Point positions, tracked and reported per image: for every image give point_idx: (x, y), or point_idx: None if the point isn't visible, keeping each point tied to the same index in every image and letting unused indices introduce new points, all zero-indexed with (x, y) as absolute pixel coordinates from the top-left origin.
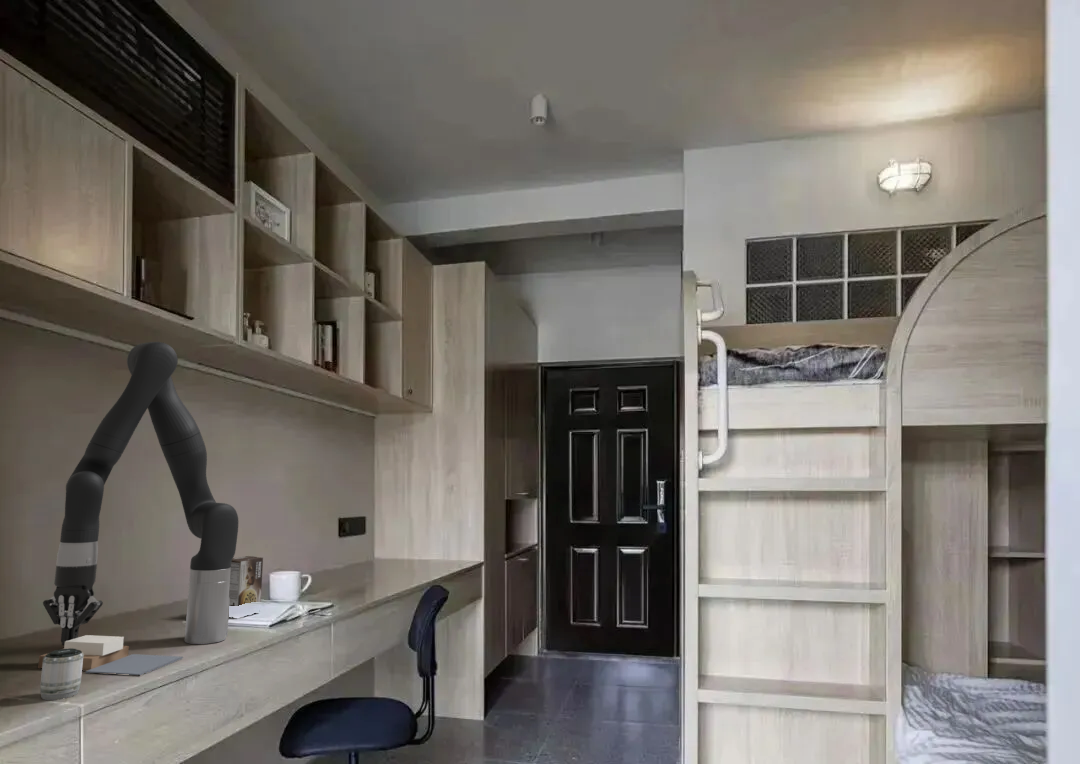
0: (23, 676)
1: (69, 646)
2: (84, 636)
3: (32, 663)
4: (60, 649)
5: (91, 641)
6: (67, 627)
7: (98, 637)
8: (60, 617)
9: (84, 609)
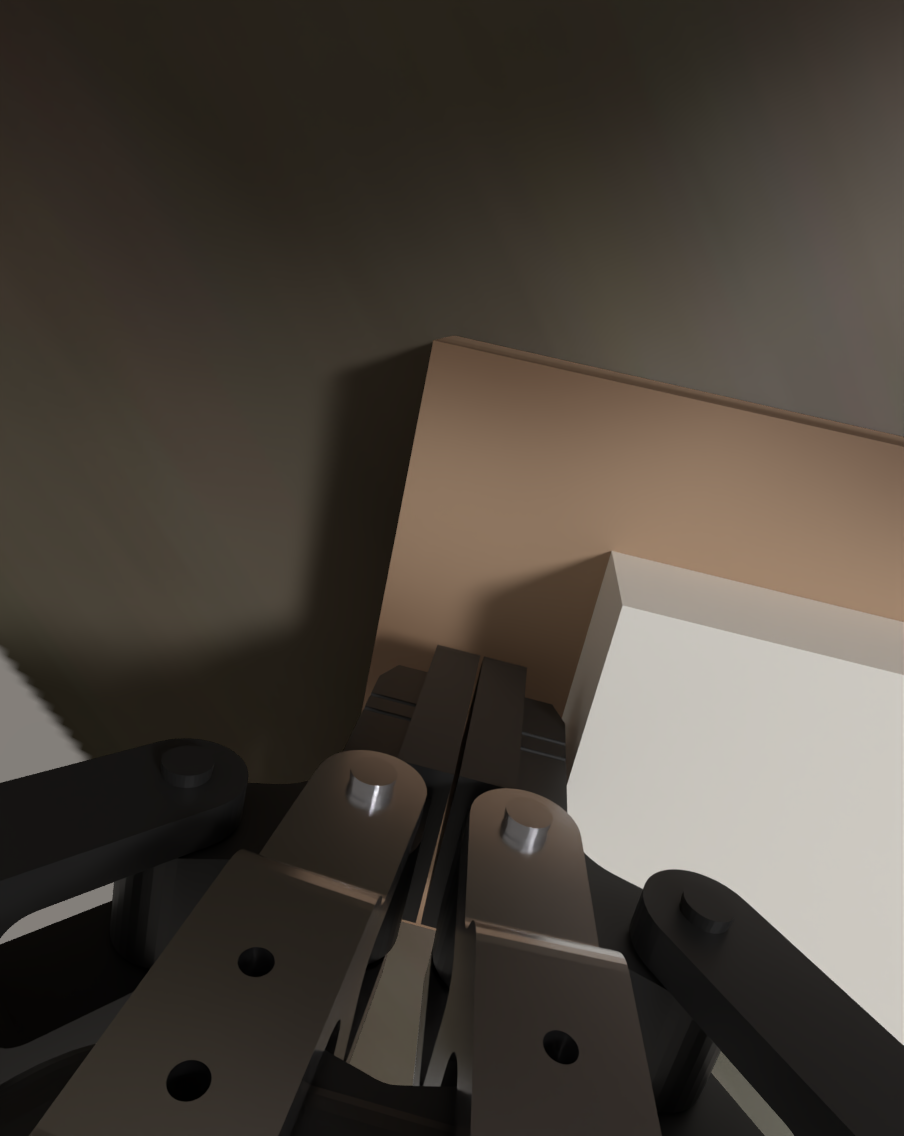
0: (387, 1017)
1: None
2: (641, 699)
3: (192, 650)
4: (377, 660)
5: (882, 996)
6: (410, 896)
7: (894, 780)
8: (144, 911)
9: (635, 1062)
